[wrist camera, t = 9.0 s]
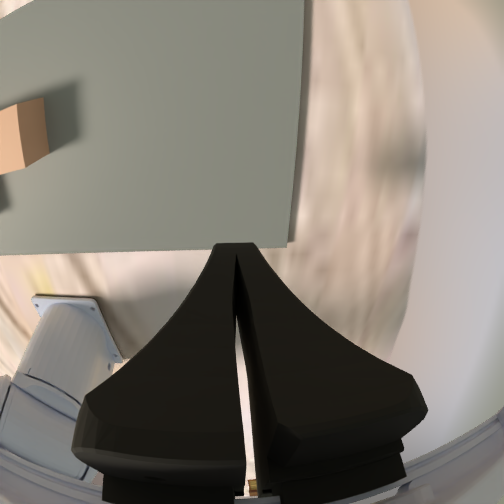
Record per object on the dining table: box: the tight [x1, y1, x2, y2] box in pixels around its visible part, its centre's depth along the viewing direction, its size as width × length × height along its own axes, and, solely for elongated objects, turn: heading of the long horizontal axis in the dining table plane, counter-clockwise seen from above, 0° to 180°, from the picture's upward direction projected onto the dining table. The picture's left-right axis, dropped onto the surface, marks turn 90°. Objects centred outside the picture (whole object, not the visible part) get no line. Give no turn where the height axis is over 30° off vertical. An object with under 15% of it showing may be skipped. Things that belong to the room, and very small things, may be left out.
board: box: [0, 0, 304, 256], centre depth 13 cm, size 20×34×1 cm, turn 88°
